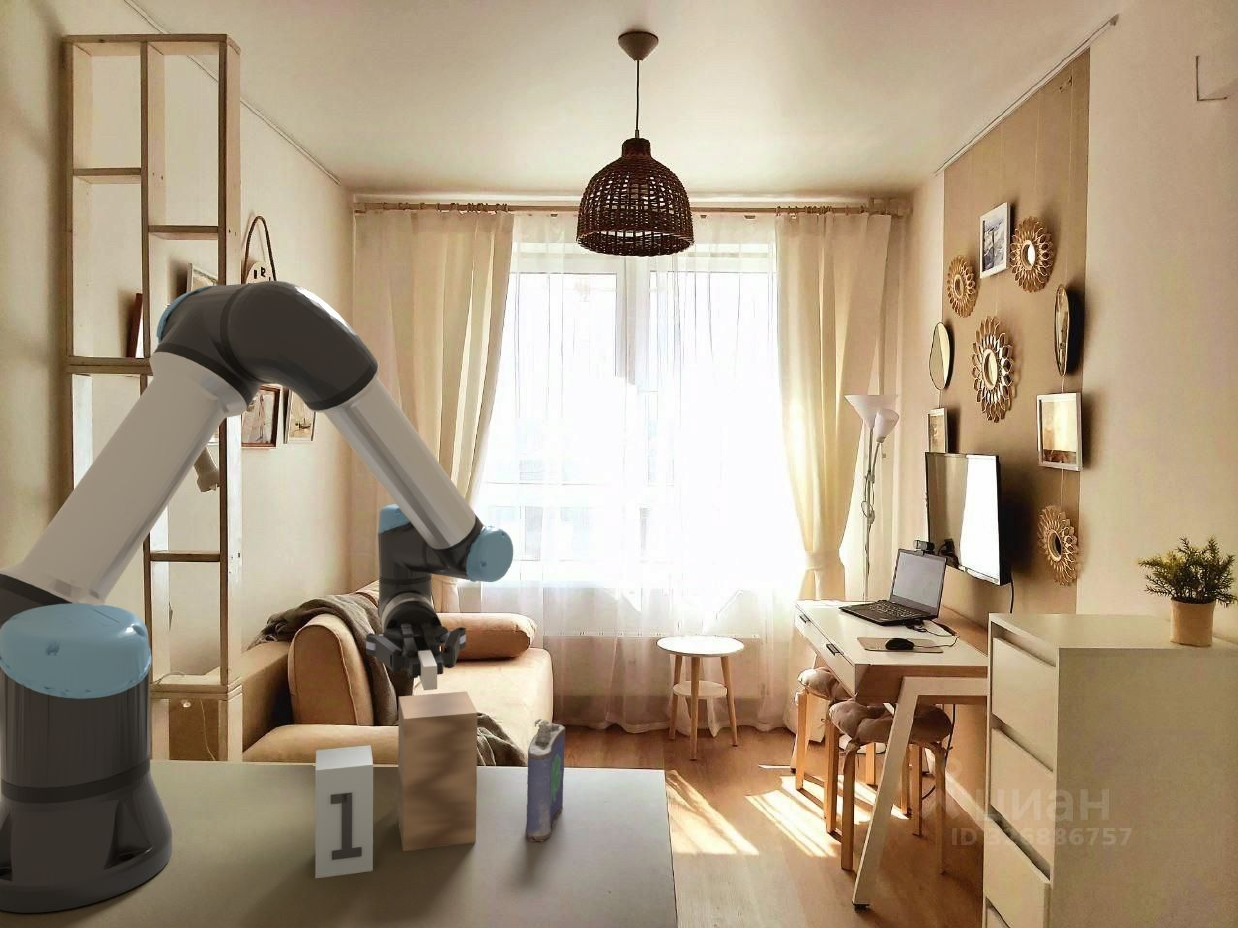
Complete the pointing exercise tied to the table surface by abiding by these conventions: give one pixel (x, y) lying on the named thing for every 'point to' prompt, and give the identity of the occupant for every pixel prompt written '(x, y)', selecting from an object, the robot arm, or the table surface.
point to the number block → (344, 811)
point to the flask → (545, 780)
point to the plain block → (437, 770)
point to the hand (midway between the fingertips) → (430, 677)
